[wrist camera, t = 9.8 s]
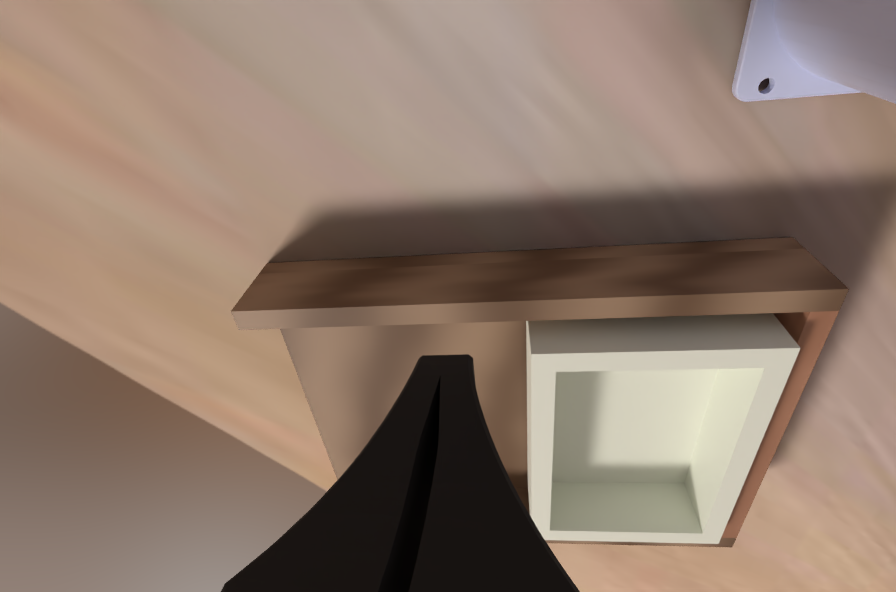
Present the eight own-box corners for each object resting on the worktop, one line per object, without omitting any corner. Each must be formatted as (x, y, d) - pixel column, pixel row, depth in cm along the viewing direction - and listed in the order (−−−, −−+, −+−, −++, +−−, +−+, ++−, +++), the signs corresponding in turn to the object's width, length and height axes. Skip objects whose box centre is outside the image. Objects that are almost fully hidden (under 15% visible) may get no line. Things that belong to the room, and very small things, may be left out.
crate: (757, 293, 21) (800, 347, 18) (695, 484, 29) (718, 544, 26) (526, 301, 22) (531, 354, 19) (527, 483, 30) (531, 539, 27)
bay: (792, 237, 21) (849, 288, 17) (706, 485, 31) (732, 547, 28) (267, 262, 24) (230, 311, 20) (347, 482, 34) (331, 537, 30)
